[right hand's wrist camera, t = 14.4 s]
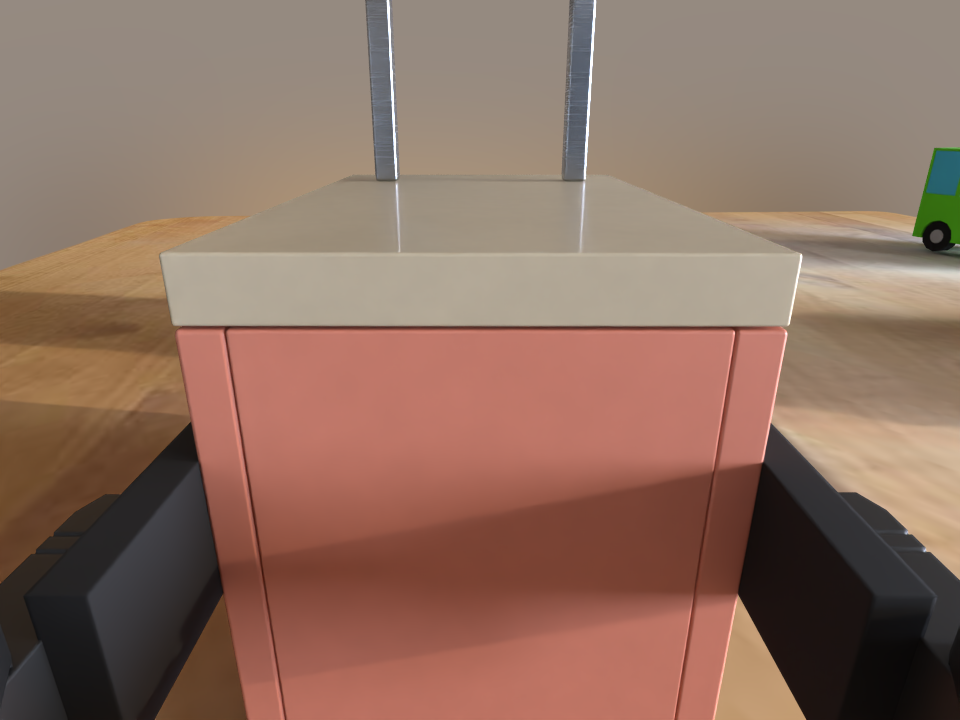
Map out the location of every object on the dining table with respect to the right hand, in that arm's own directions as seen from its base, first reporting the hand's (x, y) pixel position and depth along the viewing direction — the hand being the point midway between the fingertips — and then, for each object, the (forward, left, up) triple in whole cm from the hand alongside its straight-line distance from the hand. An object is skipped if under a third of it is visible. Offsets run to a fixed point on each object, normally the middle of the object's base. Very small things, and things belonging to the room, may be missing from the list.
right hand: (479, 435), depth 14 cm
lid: (+1, -4, +4) cm, 5 cm away
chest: (+1, -3, -6) cm, 7 cm away
